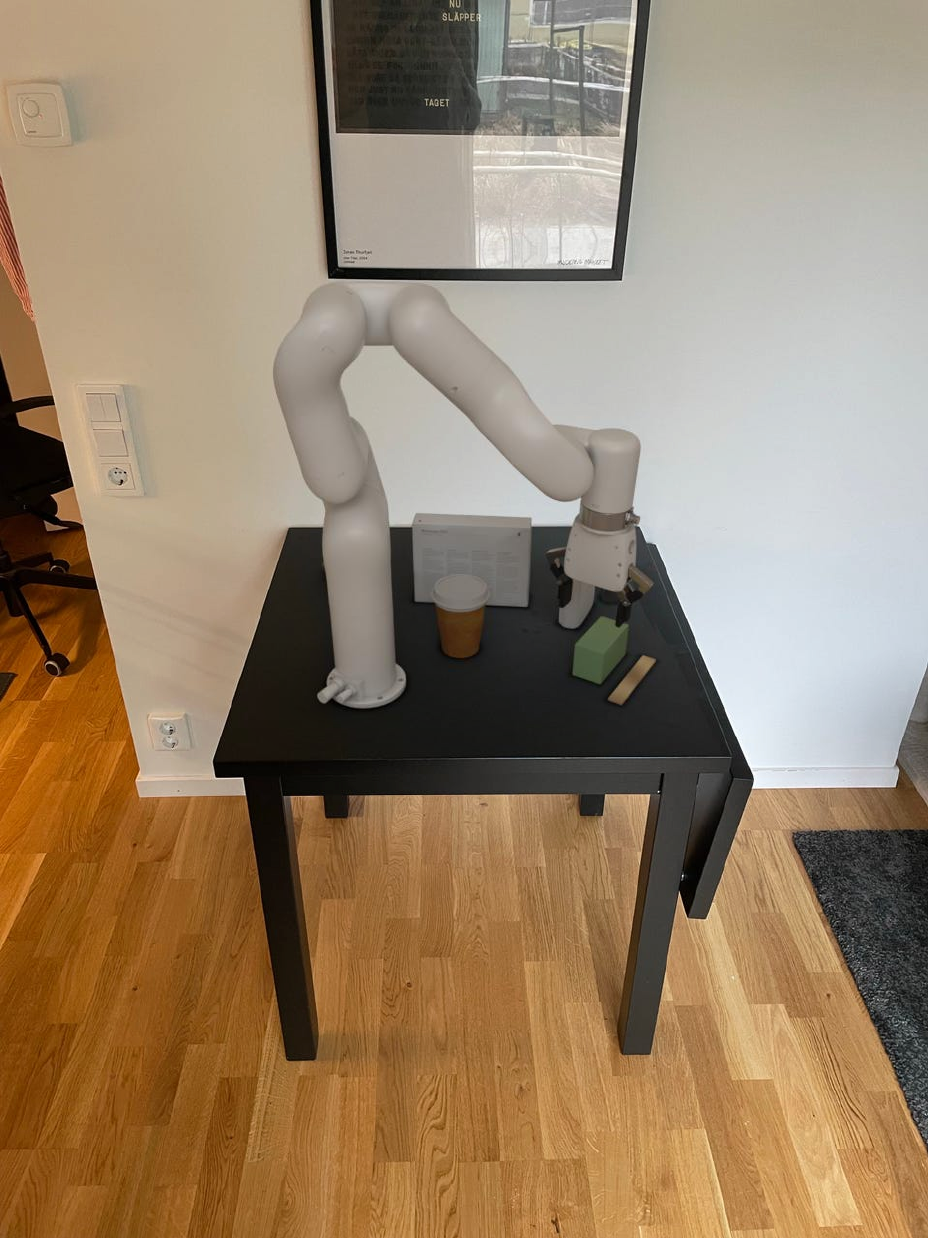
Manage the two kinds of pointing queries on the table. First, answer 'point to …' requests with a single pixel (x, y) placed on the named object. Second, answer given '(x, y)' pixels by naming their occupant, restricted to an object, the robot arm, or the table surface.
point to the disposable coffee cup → (460, 613)
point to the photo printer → (577, 605)
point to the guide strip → (632, 680)
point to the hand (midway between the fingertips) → (592, 613)
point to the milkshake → (609, 596)
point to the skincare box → (473, 554)
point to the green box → (600, 650)
